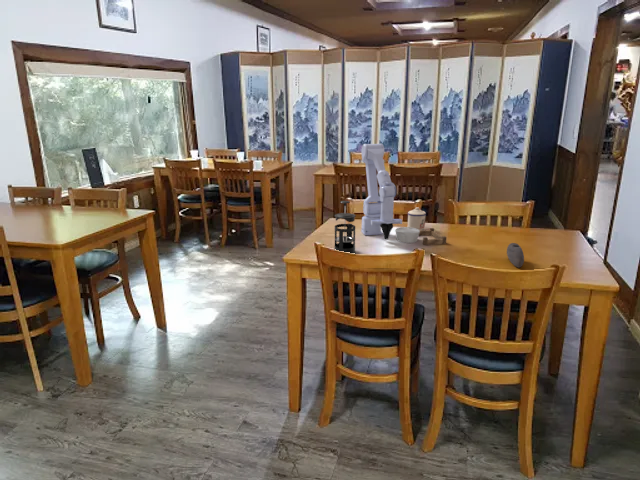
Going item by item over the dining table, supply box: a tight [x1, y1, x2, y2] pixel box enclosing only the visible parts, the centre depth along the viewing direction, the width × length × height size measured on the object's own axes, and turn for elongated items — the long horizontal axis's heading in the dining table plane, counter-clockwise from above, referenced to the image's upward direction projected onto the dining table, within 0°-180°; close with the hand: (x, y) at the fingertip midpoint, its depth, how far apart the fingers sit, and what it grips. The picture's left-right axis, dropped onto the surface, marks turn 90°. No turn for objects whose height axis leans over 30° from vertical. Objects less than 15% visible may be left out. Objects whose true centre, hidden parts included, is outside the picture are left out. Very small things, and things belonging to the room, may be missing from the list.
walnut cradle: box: [418, 227, 448, 246], centre depth 211 cm, size 11×17×3 cm, turn 8°
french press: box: [334, 200, 357, 254], centre depth 190 cm, size 12×9×23 cm
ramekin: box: [394, 226, 420, 244], centre depth 209 cm, size 11×11×5 cm
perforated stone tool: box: [506, 242, 525, 268], centre depth 177 cm, size 15×5×7 cm, turn 167°
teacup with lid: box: [407, 206, 427, 231], centre depth 228 cm, size 12×9×12 cm
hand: (385, 239), depth 208 cm, fingers closed
